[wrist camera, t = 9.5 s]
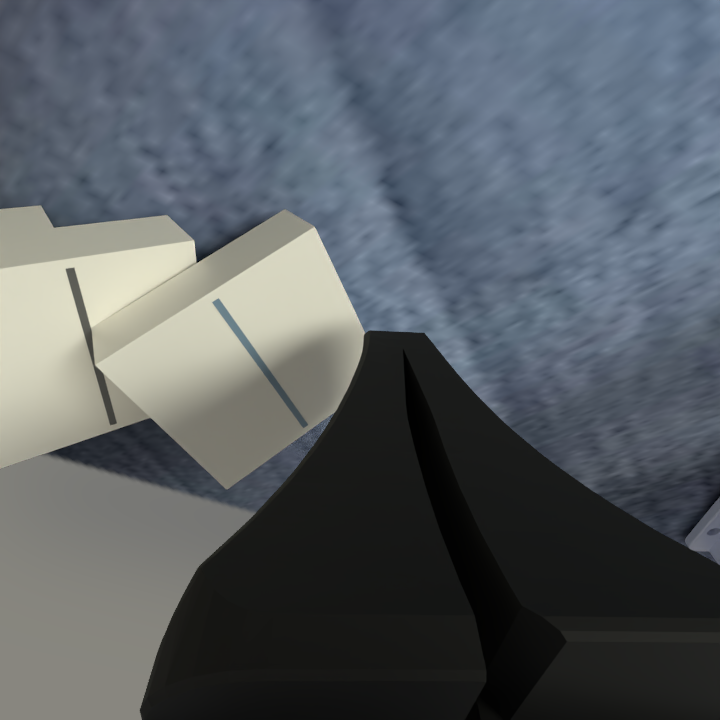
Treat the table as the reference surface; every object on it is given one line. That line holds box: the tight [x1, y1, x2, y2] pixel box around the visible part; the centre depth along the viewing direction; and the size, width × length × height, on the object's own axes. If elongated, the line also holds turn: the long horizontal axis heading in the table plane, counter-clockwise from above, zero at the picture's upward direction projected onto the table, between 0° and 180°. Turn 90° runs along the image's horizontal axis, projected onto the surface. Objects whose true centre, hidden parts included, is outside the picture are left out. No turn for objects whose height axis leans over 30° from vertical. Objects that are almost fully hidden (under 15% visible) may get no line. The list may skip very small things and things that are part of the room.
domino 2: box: [91, 209, 365, 490], centre depth 12 cm, size 5×2×5 cm
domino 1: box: [0, 215, 197, 469], centre depth 11 cm, size 5×2×5 cm
